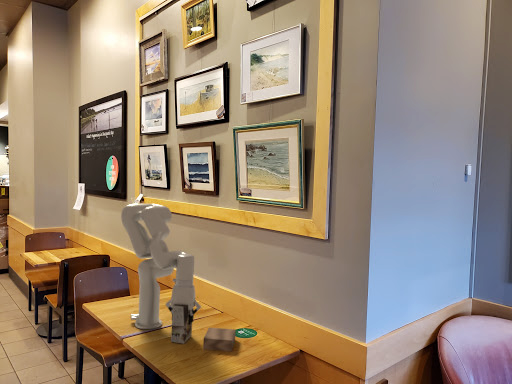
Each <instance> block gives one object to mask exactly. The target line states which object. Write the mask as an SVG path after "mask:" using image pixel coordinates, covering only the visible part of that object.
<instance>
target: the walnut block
mask: <svg viewBox="0 0 512 384" xmlns="http://www.w3.org/2000/svg"><path fill="white" fill-rule="evenodd" d="M202 342H203V343H202V344H203V345H202V350H205V349H206V350H207V351H218V350H220V351H219V352H232V351H233V348H234V344H235V342H236V329H235V328H233V329H232V328H223V327H222V328H221V327H220V328H219V327H208V329H207V330H206V332H205V335H204V336H203V340H202Z"/></svg>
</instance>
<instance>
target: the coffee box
mask: <svg viewBox="0 0 512 384" xmlns="http://www.w3.org/2000/svg"><path fill="white" fill-rule="evenodd" d="M189 315H190V313H189V310H188V305H176V304H174V305H173V315H172V314H171V334H170V342H171V343H178V344H186V342H187V341H189V339H190V338H191V337H192V336H193V334H192V333H193V332H192V331H193V322H192V323H191V324H190V325H189Z"/></svg>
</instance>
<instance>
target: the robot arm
mask: <svg viewBox="0 0 512 384" xmlns="http://www.w3.org/2000/svg"><path fill="white" fill-rule="evenodd" d="M120 217H121V223H122V225H123V227H124V229H125V232H127V234H128V236H129V237H128V238H129V239H130V243H131V245H132V248H133V251H134V254H135V256H136V257H137V258H138V259H143V260H142V261H141V262H140V263H139V264H138V266H137V274H138V280H139V292H138V293H139V294H138V295H139V296H138V313H137V314H135V313H131V314H130V320H133V321H134V320H135V321H134V326H135V328H137V329H141V330H151V329H152V330H154V329H157V328H159V327H161V326H162V325H163V321H162V320H161V319H160V301H161V299H160V298H161V287H160V283H159V282H158V281H157V279H160V278H164V277H168V276H171V275H172V274H173V273H174V271H175V270H174V269H176V271H175V274H176V275H175V278H173V279H172V283H174V285H173V287H172V291H171V297H170V298H171V299H169V300H168V301H167V302H166V303H165V306H166V307H167V308H168V310H169V312H170V313H171V316H172V315H173V305H174V304H176V305H188V310H189V313H190V315H189V325H190V324H191V323H192V324H193V322H194V315H195V314H196V313H197V312H198V311H199V310H200V309H201V308H202V306H201V304H200V303H199V302H198V301H197V300H196V289H195V285H194V273H195V271H194V270H195V268H194V267H195V255H193V254H192V253H191V254H190V253H187V252H185V251H182V250H172V251H170V250H169V248H168V245H167V243H166V242H165V239H166V238H167V237H168V236H169V235H170V233H171V232H170V231H171V230H170V229H169V226H168V223H169V222H170V221H171V220H172V211H171V210H170V208H169V207H167V206H165V205H160V204H156V203H131V204H128V205H125V206H124V207H123V208H122V209H121V215H120ZM142 221H143V222H144V224H145V226H146V228H145V227H144V225H142V224H141V223H140V222H142ZM147 230H148V232H149V234H150V236H151V237H150V236H149V234H148V232H147ZM195 307H196V308H195ZM194 308H195V309H194Z"/></svg>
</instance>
